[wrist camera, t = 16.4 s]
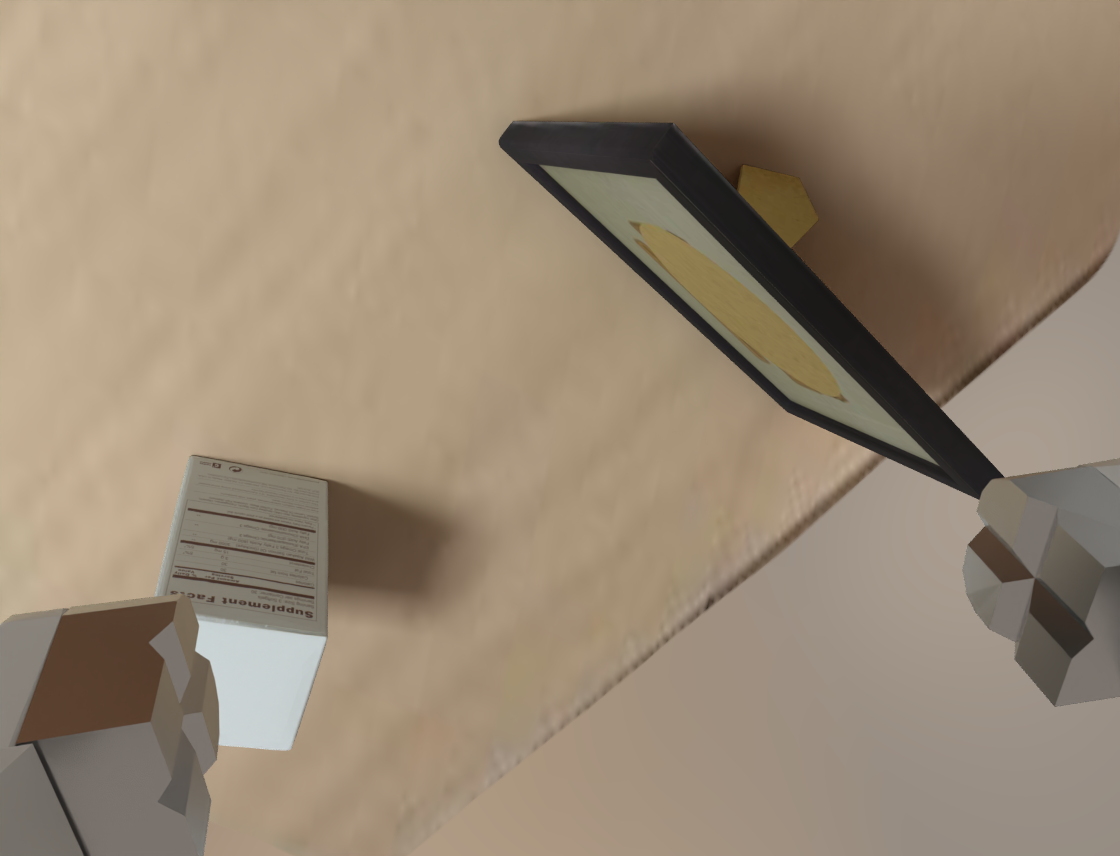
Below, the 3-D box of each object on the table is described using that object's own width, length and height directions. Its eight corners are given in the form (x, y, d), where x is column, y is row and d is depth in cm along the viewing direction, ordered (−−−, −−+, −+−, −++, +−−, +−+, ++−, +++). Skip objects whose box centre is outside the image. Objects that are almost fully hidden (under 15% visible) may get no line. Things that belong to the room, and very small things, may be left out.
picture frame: (494, 142, 44) (595, 217, 31) (625, -14, 42) (786, -5, 29) (785, 410, 55) (949, 548, 42) (895, 293, 54) (1099, 398, 41)
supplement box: (299, 582, 54) (291, 758, 44) (163, 560, 52) (118, 741, 41) (333, 477, 51) (332, 638, 40) (189, 448, 48) (148, 612, 38)
